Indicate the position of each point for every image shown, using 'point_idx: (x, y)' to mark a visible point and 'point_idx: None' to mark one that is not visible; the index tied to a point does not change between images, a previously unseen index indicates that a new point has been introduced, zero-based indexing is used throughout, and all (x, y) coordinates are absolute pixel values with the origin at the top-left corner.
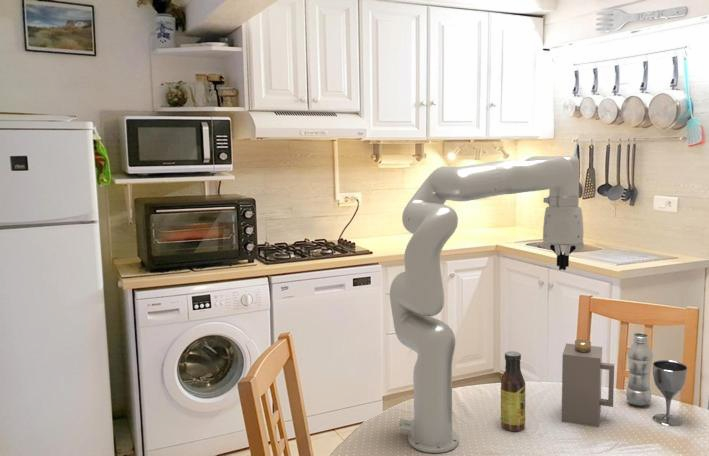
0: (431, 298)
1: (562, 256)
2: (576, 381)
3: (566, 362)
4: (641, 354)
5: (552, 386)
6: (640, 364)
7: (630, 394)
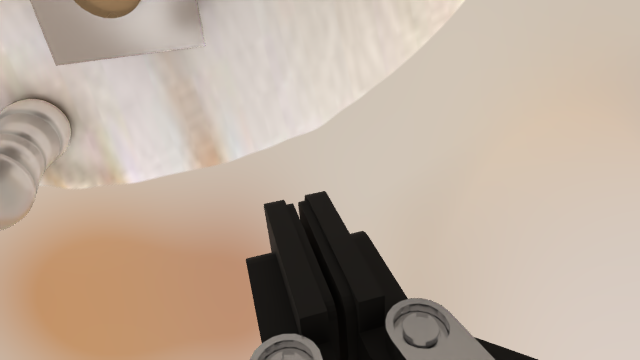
0: None
1: (342, 340)
2: None
3: None
4: None
5: (264, 126)
6: None
7: (44, 109)
